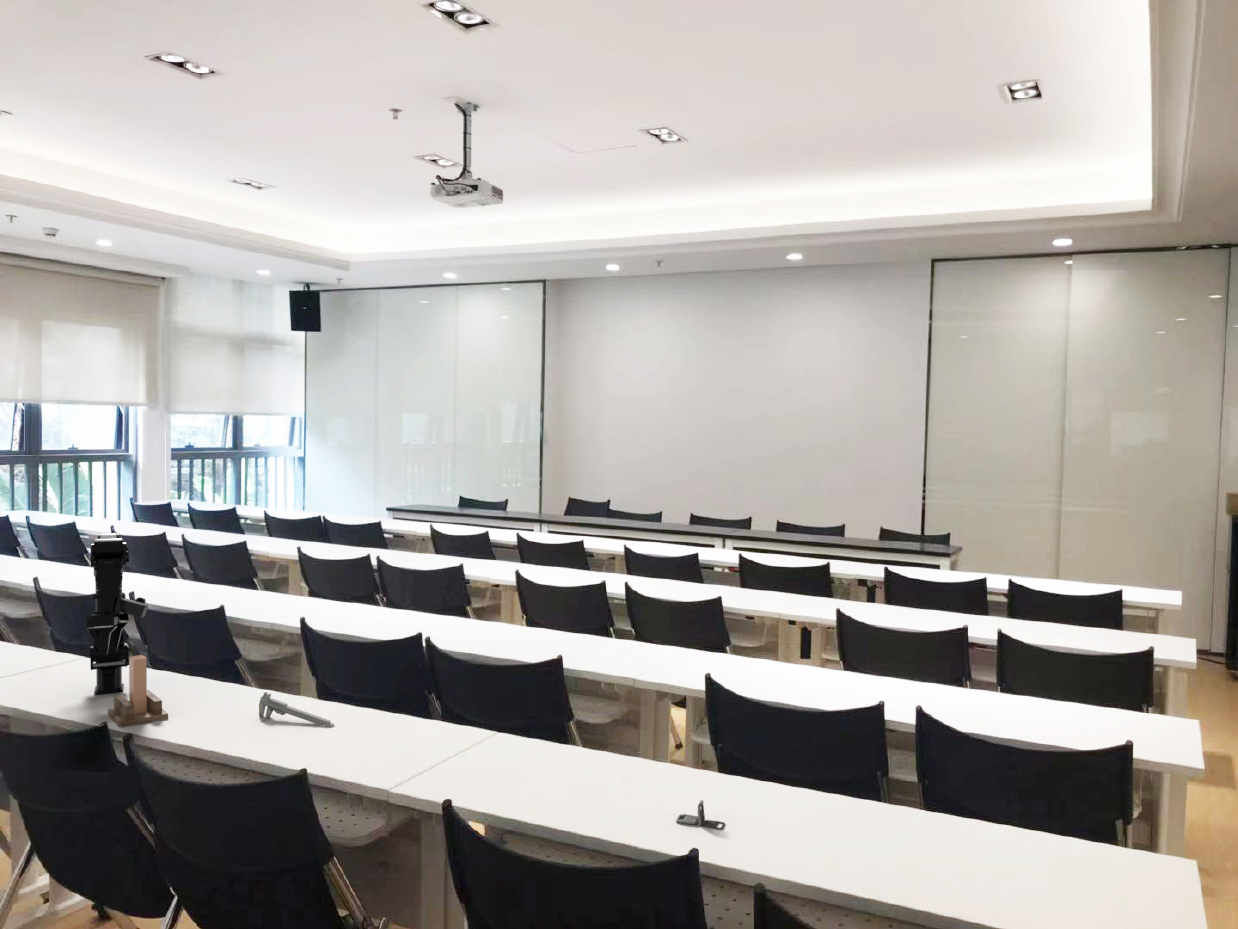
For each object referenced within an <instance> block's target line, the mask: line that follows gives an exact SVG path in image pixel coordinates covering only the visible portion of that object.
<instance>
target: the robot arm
mask: <svg viewBox="0 0 1238 929" xmlns="http://www.w3.org/2000/svg"><path fill="white" fill-rule="evenodd" d="M123 540H124V539H123V538H122V537H120V535H119V533H117V532H110V533H109V532H108V533H105V532H104V533H99V534H97V538H95V539H94V541H93V543H91V544H90V568H93V576H94V582H95V594H92V596H93V597H92V598H93V600H95V611H93V613H92V614H88V616H86V618H85V619H84V627H85V628H86V630H87V631H88V633H89V635H90V636H91V638H92V640H93V645H91V646H89V647H90V649H89V651H90V654H89V655H90V671H93V670H94V671H95V670H96V685H95V687H94V691H93V692H94V693H93V694H94V695H98V694H99V695H101V694H108V693H121V692H123V691H124V686H125V683H122V682H123V679H122V677H123V675H122V673H123V672H122V670H123V667H125V668H126V667H128V666H129V657H130V656H131V648H130V647H129V645H128V643H127V642H126V643H125V634H124V631H123V629H125V628H126V627H127V626H128V625H129V624H130V623H131V620H132V616H134V617H135V618H144V617H145V616H146V614H147V611H148V610H149V603H146V602H147V601H146V598H144V597H139V596H138V597H137V598H136V599H129V598H127V597H126V593H125V592H123V578H124V576H123V575H124V567H125V566H127V563H129V562H130V547H129V545H128V544H127V542H123Z"/></svg>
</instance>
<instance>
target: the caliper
mask: <svg viewBox="0 0 1238 929" xmlns="http://www.w3.org/2000/svg"><path fill="white" fill-rule="evenodd" d="M271 697H272V693H268V691H266V692H264V693H263V695H262V696H261V697H260V700H259V703H258V717H259V718H262V717H265V719H269V718H270V717H271V715H272V714H273V712H275V713H276V714H279V715H280V716H284V715H286V714H287V715H290V716H293V717H296V718H298V719H302V720H305V721H307V722H309V723H312V724H315V725H318V724H319V725H318V726H321V725H325V726H324V727H330V728H333V727H335V726H334V725H335V724H334V723H332V722H331V720H330V719H327V718H324V717H322V716H318V715H315V714H313V713H310V712H307V711H303V710H301V709H300V708H299V709H298V708H295V707H292V706H289V705H288V703H286V702H283V701H280V700H278V699H275V698H271ZM265 710H266V711H265Z"/></svg>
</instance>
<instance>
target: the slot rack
mask: <svg viewBox="0 0 1238 929" xmlns="http://www.w3.org/2000/svg"><path fill="white" fill-rule="evenodd" d="M113 699H114V700H113V708H109V709H107V715H108V716H109V717H110V718H111V719H112V720H113V721H114V722H116V724H117V725H118V724H119V725H120V726H121V727H120V726H119V725H118V726H119V727H120V728H125V727H129V726H130V725H131V726H135V725H134V724H136V725H141V724H145V723H152V722H157V721H164V720H168V719H169V713H168V712H167V711H166V710H165V709H163V700H162V699H161V698H160V697H158V696H157V695H156V694H155V693H153V692H152V691H151V690H149V689H148V690H147V712H145V713H139V714H134V705H133V704H132V703H131V702H130V701H129V699H127V698H126V697H125V695H123V694H116V695H113ZM131 726H130V727H131Z"/></svg>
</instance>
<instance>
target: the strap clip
mask: <svg viewBox="0 0 1238 929" xmlns="http://www.w3.org/2000/svg"><path fill="white" fill-rule="evenodd" d="M705 816H706V815H705V808H704V800H703V799H701V800H700V801H699V803H698V805H697V815H692V814H687V813H685V814H684V813H683V814H679V815H678V816H677V818H676V821H675V823H676V824H678V825H682V826H683V825H684V826H690V827H696V826H698V825H699V826H700V827H702V828H705V829H710V830H719V831H722V830H723V829H724V827H725V825H726V823H725V822H723V821H718V820H710V819H706V817H705ZM719 824H720V825H721V827H717V826H718V825H719Z"/></svg>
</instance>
